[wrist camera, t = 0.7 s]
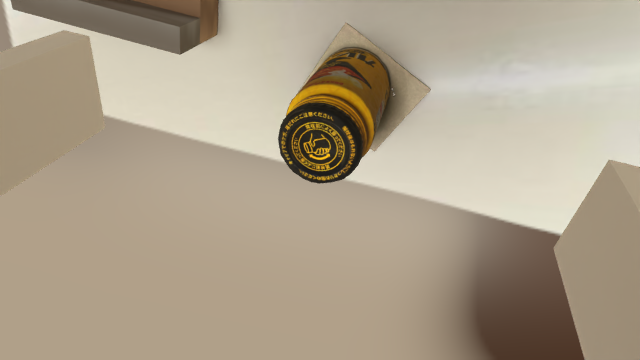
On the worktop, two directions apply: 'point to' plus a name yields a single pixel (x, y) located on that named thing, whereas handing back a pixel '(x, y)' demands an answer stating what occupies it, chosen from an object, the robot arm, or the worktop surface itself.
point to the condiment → (346, 108)
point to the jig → (135, 19)
